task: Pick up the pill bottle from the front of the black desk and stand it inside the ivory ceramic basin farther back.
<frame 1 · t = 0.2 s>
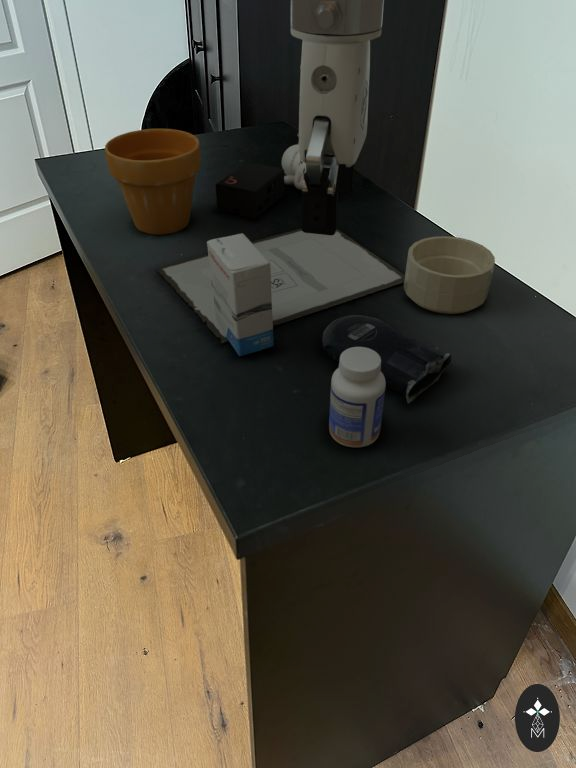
hand: (328, 210, 64), 20 cm above the table, tool pointing down, fingers open, 9 cm apart
electronic device 2: (251, 205, 113), on the table
basin: (444, 294, 90), on the table
picture frame: (281, 275, 94), on the table, touching ink box
black pouch: (378, 362, 79), on the table
flower pot: (163, 224, 107), on the table
cat figurine: (310, 189, 118), on the table
ink box: (242, 336, 82), on the table, touching picture frame
pill bottle: (353, 432, 69), on the table
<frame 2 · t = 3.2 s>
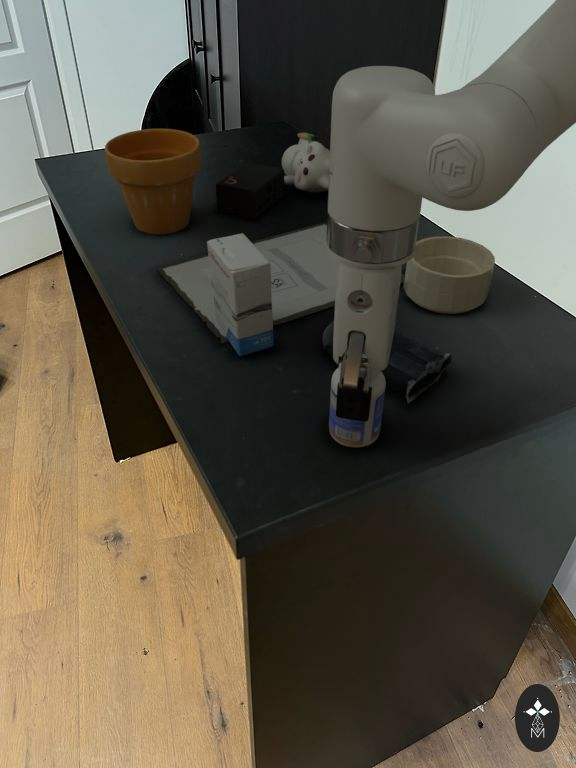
hand: (357, 396, 66), 5 cm above the table, tool pointing down, fingers closed on pill bottle, 5 cm apart
pill bottle: (353, 432, 69), on the table, touching gripper
everything else where it was.
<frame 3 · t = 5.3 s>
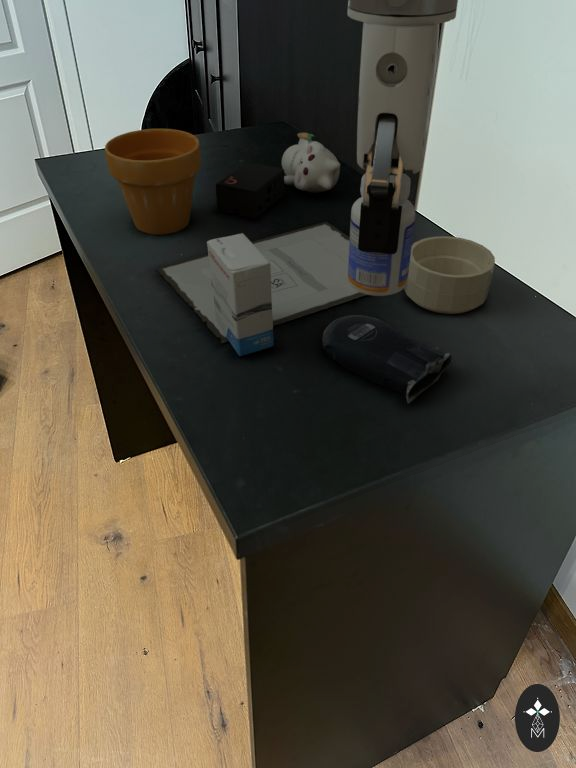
hand: (381, 232, 56), 22 cm above the table, tool pointing down, fingers closed on pill bottle, 5 cm apart
pill bottle: (376, 284, 59), point 17 cm above the table, touching gripper
everything else where it was.
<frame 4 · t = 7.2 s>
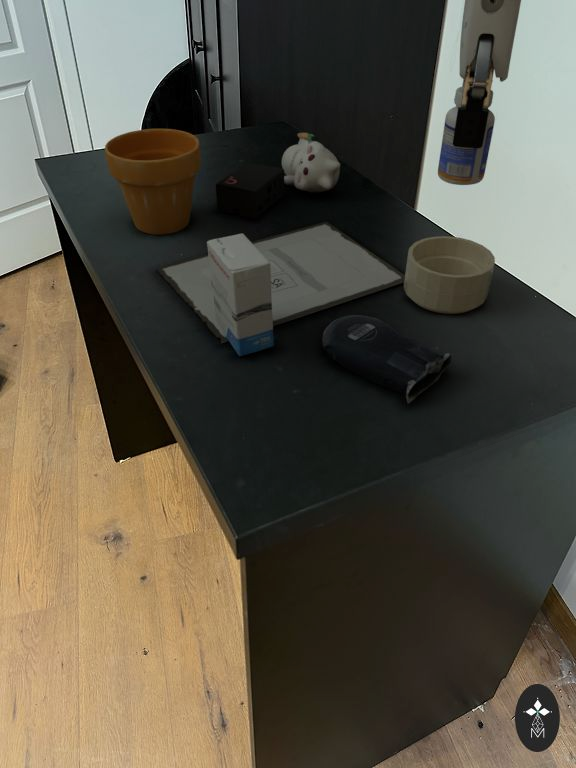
hand: (467, 135, 74), 22 cm above the table, tool pointing down, fingers closed on pill bottle, 5 cm apart
pill bottle: (459, 179, 77), point 17 cm above the table, touching gripper
everything else where it was.
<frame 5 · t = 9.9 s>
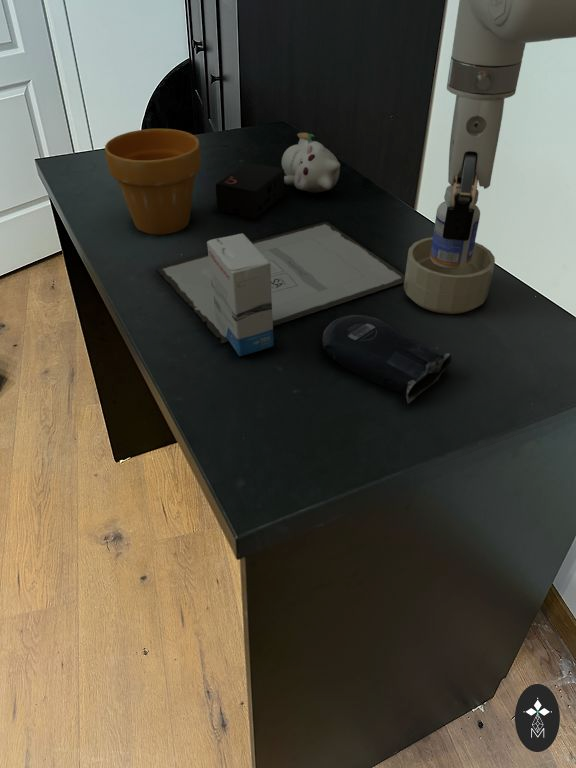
hand: (456, 226, 84), 10 cm above the table, tool pointing down, fingers closed on pill bottle, 5 cm apart
pill bottle: (449, 261, 87), point 5 cm above the table, touching gripper
everything else where it was.
when the fingers open (6 cm above the table, at t = 11.5 s): pill bottle stays where it is, resting on basin.
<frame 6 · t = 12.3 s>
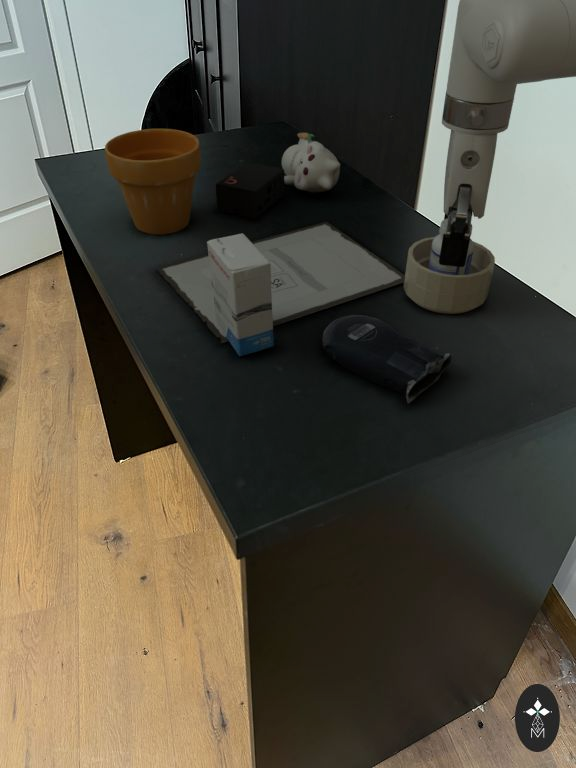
hand: (452, 247, 85), 7 cm above the table, tool pointing down, fingers open, 9 cm apart
pill bottle: (444, 291, 90), point 1 cm above the table, touching basin
everything else where it was.
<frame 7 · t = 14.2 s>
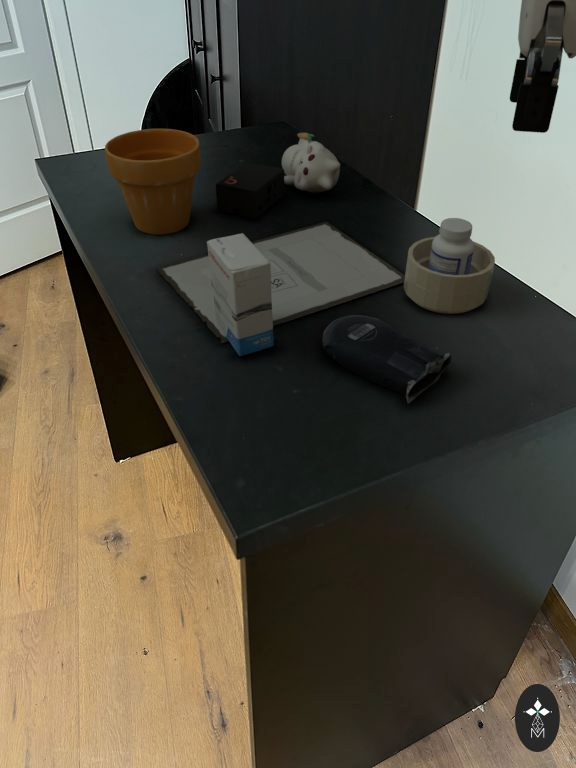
hand: (527, 115, 64), 27 cm above the table, tool pointing down, fingers open, 9 cm apart
nothing on the table moved.
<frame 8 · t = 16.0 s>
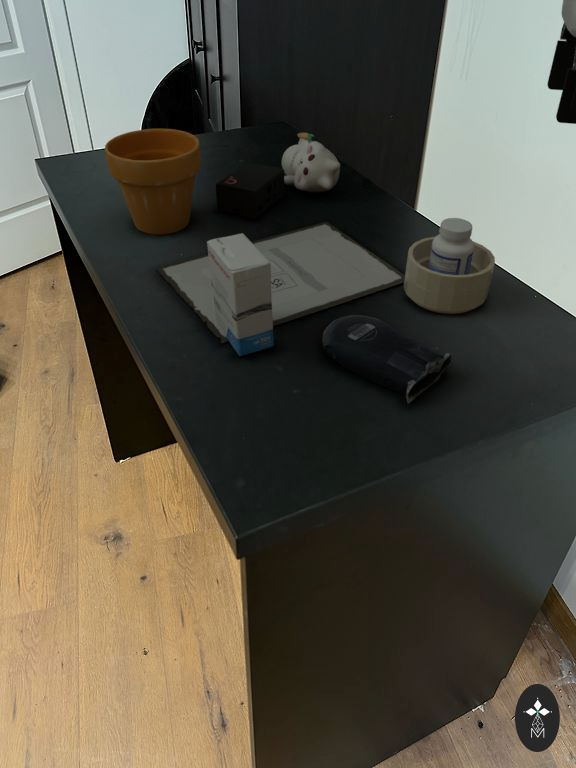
hand: (569, 105, 57), 30 cm above the table, tool pointing down, fingers open, 9 cm apart
nothing on the table moved.
at the end: pill bottle 0.1 cm off-centre in the basin, point 0.6 cm above the basin's base; pill bottle tilted 0°; the gripper is holding nothing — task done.
